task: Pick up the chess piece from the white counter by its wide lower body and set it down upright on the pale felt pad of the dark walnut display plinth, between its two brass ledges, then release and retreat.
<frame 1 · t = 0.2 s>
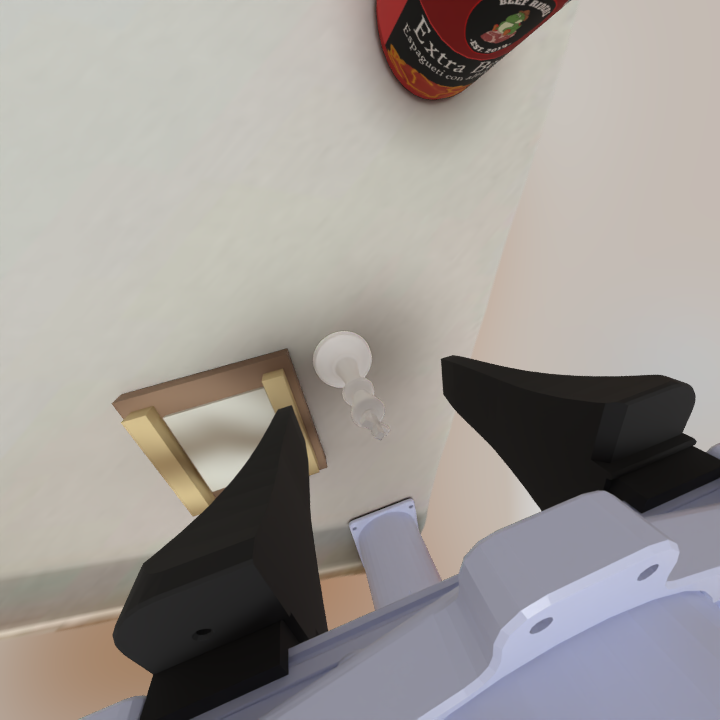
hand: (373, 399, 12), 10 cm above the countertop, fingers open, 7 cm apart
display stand: (239, 431, 22), on the countertop
chess piece: (342, 358, 22), on the countertop
canned food: (433, 17, 15), on the countertop
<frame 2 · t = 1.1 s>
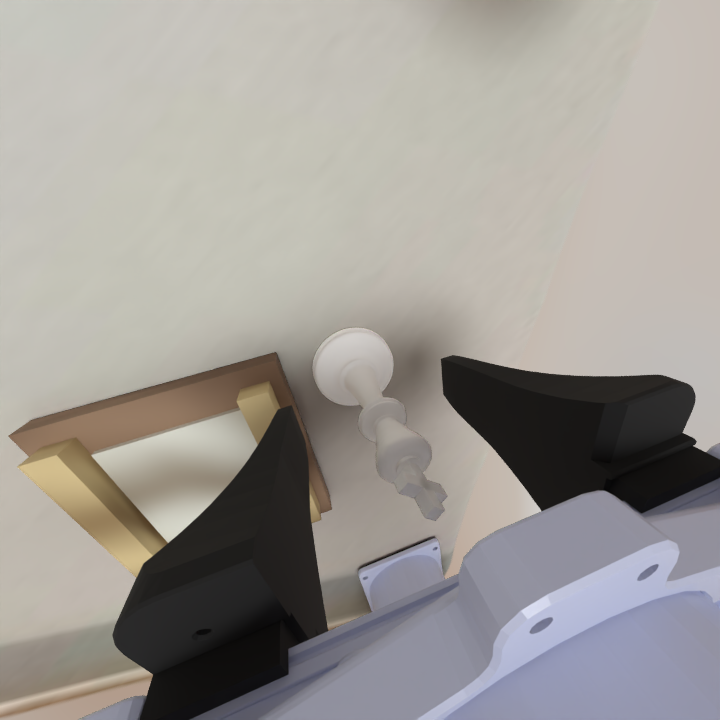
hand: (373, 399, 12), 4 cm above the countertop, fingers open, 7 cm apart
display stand: (211, 465, 16), on the countertop
chess piece: (352, 365, 16), on the countertop
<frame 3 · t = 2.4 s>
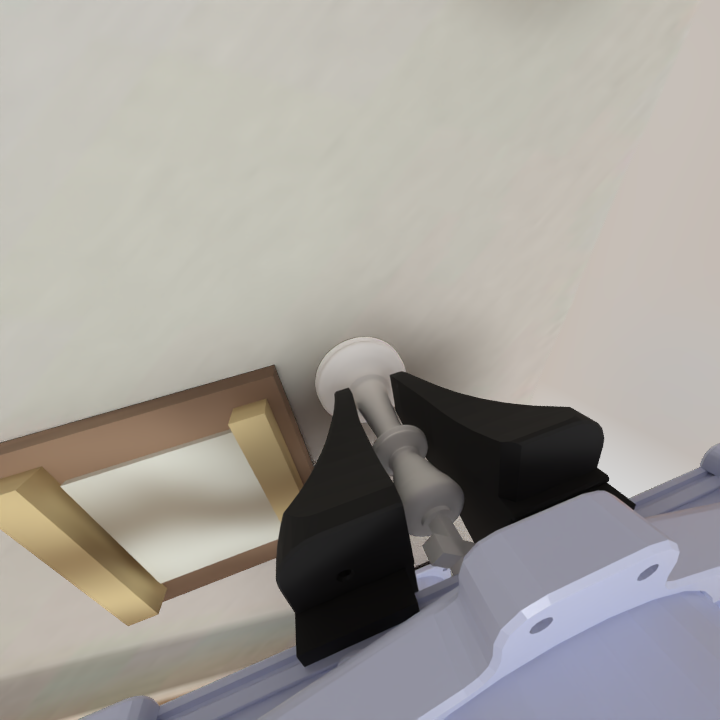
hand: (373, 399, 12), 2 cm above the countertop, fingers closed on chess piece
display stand: (202, 490, 15), on the countertop
chess piece: (359, 377, 15), on the countertop, touching gripper
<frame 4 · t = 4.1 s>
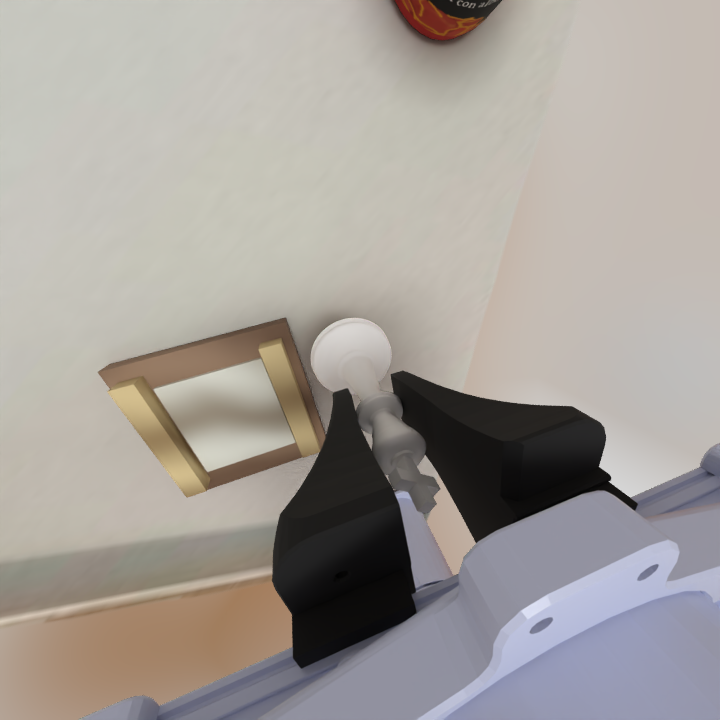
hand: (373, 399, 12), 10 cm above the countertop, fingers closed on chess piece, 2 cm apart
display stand: (235, 408, 21), on the countertop
chess piece: (350, 354, 16), point 5 cm above the countertop, touching gripper
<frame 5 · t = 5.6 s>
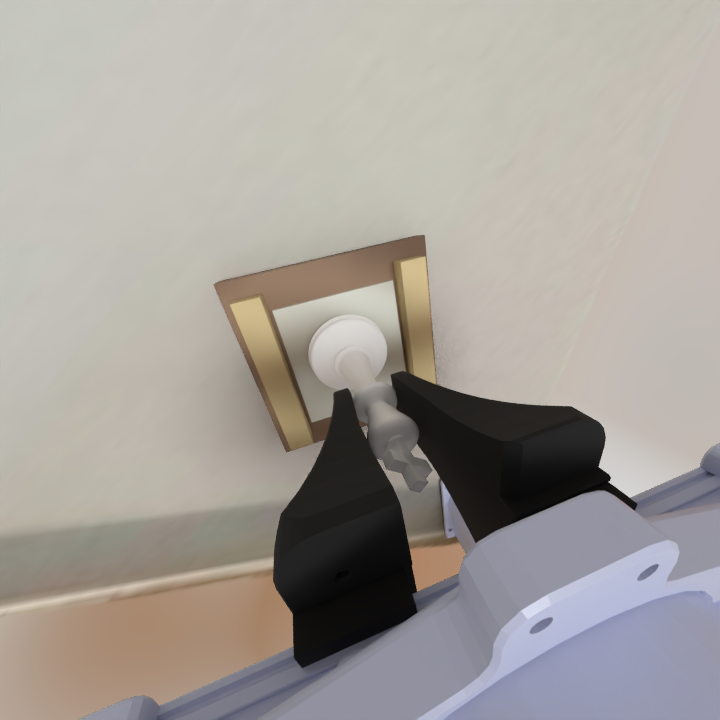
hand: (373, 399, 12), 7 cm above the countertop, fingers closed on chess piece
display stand: (344, 348, 18), on the countertop
chess piece: (347, 350, 17), point 1 cm above the countertop, touching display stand, gripper
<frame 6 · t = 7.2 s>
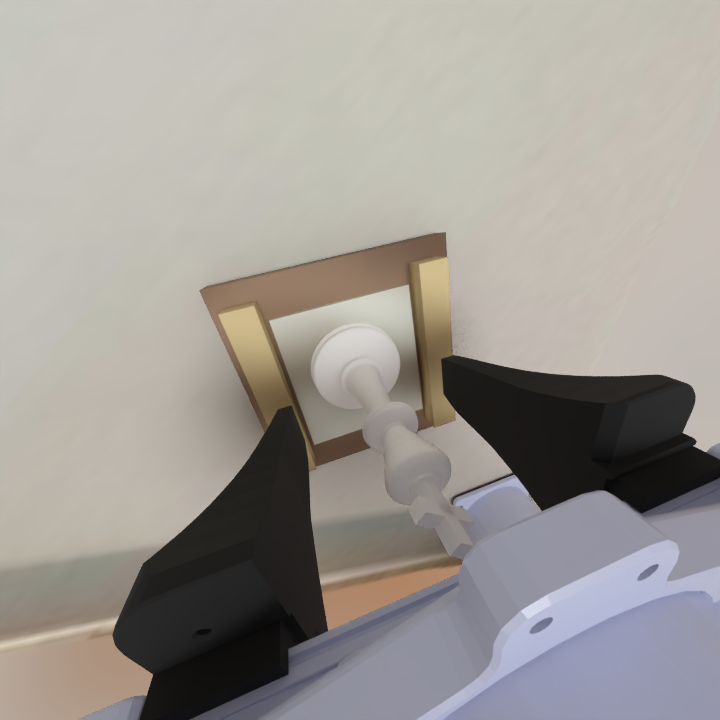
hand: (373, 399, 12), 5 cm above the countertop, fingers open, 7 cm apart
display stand: (351, 360, 16), on the countertop
chess piece: (354, 364, 15), point 1 cm above the countertop, touching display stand
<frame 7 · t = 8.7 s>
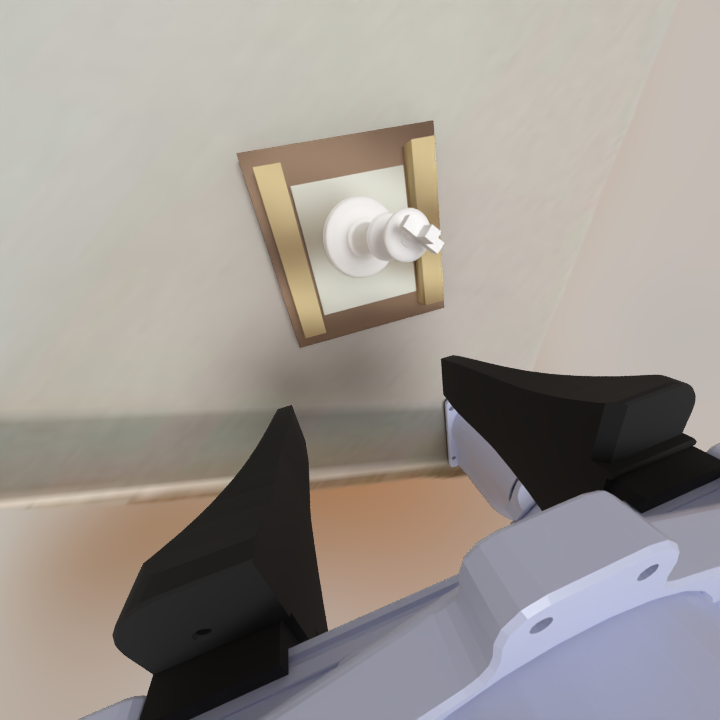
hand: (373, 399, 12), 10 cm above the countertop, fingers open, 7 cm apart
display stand: (356, 245, 19), on the countertop
chess piece: (358, 239, 18), point 1 cm above the countertop, touching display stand
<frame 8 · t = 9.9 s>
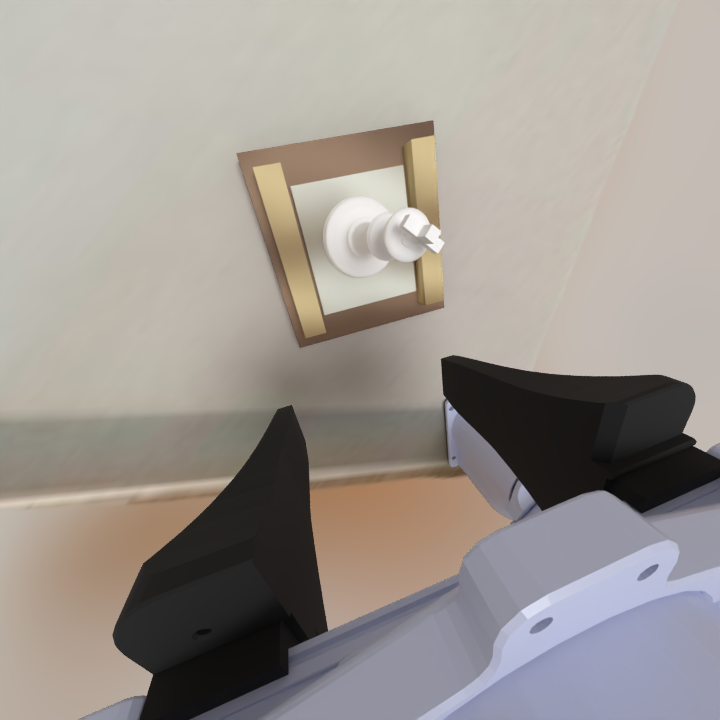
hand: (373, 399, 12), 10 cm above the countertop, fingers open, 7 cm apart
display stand: (356, 245, 19), on the countertop
chess piece: (358, 239, 18), point 1 cm above the countertop, touching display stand
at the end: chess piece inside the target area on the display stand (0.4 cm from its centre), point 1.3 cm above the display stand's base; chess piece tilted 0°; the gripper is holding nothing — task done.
